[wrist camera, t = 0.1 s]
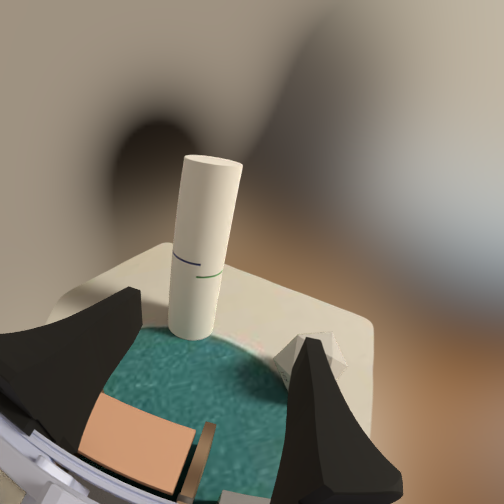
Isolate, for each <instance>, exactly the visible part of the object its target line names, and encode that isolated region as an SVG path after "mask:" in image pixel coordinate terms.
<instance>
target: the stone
mask: <svg viewBox="0 0 504 504" xmlns="http://www.w3.org/2000/svg"><path fill="white" fill-rule="evenodd" d="M270 500H271V499H267V498H261V497H255V496H249V495H244V494H239V493H234V492H230V491H225V490H223V491H222V493H221V495H220V497H219V499H218V501H217V504H270Z"/></svg>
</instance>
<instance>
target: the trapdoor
mask: <svg viewBox="0 0 504 504" xmlns="http://www.w3.org/2000/svg"><path fill="white" fill-rule="evenodd" d="M195 432H196V430H194V429H191V428H188V427H185V426H182V425H179V424H176V423H173V422H170V421H167V420H165V419H162V418H159V417H157V416H154V415H151V414H149V413H146V412H144V411H141V410H139V409H137V408H134V407H132V406H130V405H127V404H125V403H123V402H121V401H119V400H116V399H114V398H112V397H110V396H108V395H106V394H104V393H102V392H101V393H100V395H99V397H98V399H97V401H96V403H95V406H94V408H93V410H92V412H91V415H90V417H89V420H88V422H87V425H86V427H85V430H84V433H83V436H82V439H81V442H80V445H79V448H78V453H79V454H81V455H83V456H85V457H86V458H88V459H90V460H92V461H94V462H95V463H97V464H99V465H101V466H103V467H105V468H107V469H109V470H111V471H113V472H115V473H117V474H119V475H122V476H124V477H126V478H128V479H130V480H133V481H135V482H137V483H140V484H142V485H145V486H147V487H150V488H152V489H155V490H158V491H160V492H163V493H166V494H169V495H172V496H173V493H174V490H175V488H176V485H177V482H178V480H179V477H180V474H181V472H182V469H183V466H184V464H185V461H186V458H187V456H188V453H189V450H190V448H191V445H192V442H193V439H194V437H195ZM68 474H69V475H71V476H72V477H73V478H74V479H75V480H76V481H78V482H79V483H80V484H82V485H83V486H84V487H86V488H87V489H89V491H90V492H89V494H88V496H87V497H88V498H90V499H92V500H94V501H96V502H98V503H99V504H131V503H129V502H127V501H125V500H123V499H120V498H118V497H116V496H114V495H112V494H110V493H108V492H106V491H104V490H102V489H100V488H98V487H96V486H94V485H93V484H91V483H89V482H87V481H85V480H84V479H82V478H80V477H78V476H77V475H75V474H73V473H72V472H70V471H69V472H68Z"/></svg>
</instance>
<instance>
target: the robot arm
mask: <svg viewBox="0 0 504 504" xmlns="http://www.w3.org/2000/svg"><path fill="white" fill-rule="evenodd" d="M142 325H143V324H142V310H141V291H140V290H138V289H135V288H132V287H127V288H125V289H123V290H121V291H119V292H117V293H115V294H113V295H111V296H110V297H108V298H106V299H104V300H102V301H100V302H98V303H96V304H95V305H93V306H91V307H89V308H87V309H84V310H82V311H80V312H78V313H76V314H74V315H72V316H69V317H67V318H65V319H62V320H59V321H57V322H54V323H51V324H48V325H44V326H41V327H37V328H34V329H30V330H25V331H20V332H14V333H6V334H0V469H1V470H2V471H3V472H4V473H5V474H6V475H7V476H9V477H10V478H11V479H12V480H13V481H14V482H15V483H16V484H17V485H18V486H19V487H21V488H22V489H23V490H24V491H25V492H26V495H25V496H24V498H23V500H22V502H21V504H99V503H98V502H96V501H94V500H92V499H90V498H88V497H87V496H88V494H89V492H90V491H89V489H87V488H86V487H84V486H83V485H82V484H80V483H79V482H78V481H76V480H75V479H74V478H73V477H72V476H71V475H69V474H68V473H66V472H65V471H63V470H62V469H60V468H59V467H58V466H56V463H58V464H59V465H61V466H62V467H64V468H65V469H67V470H69V471H70V472H72V473H73V474H75V475H77V476H78V477H80V478H82V479H84V480H85V481H87V482H89V483H91V484H93V485H94V486H96V487H98V488H100V489H102V490H104V491H106V492H108V493H110V494H112V495H114V496H116V497H118V498H120V499H123V500H125V501H127V502H129V503H131V504H178V503H175V502H172V501H169V500H166V499H164V498H161V497H158V496H155V495H153V494H150V493H148V492H145V491H143V490H140V489H138V488H136V487H133V486H131V485H129V484H126V483H124V482H122V481H120V480H118V479H116V478H114V477H112V476H110V475H108V474H106V473H104V472H102V471H100V470H98V469H96V468H94V467H92V466H90V465H89V464H87V463H85V462H83V461H82V460H80V459H78V458H77V457H75V456H73V455H72V454H75V453H77V452H78V448H79V445H80V442H81V439H82V436H83V433H84V430H85V427H86V425H87V422H88V420H89V417H90V415H91V412H92V410H93V408H94V406H95V403H96V401H97V399H98V397H99V395H100V393H101V391H102V389H103V387H104V385H105V384H106V382H107V380H108V379H109V377H110V376H111V374H112V373H113V371H114V370H115V368H116V367H117V365H118V364H119V363H120V361H121V360H122V358H123V357H124V355H125V354H126V353H127V351H128V350H129V348H130V347H131V345H132V344H133V342H134V340H135V339H136V337H137V335H138V333H139V331H140V329H141V327H142ZM54 461H55V462H56V463H55V462H54ZM402 496H403V482H402V476H401V473H400V471H399V470H397V468H395V467H394V466H393V465H392V464H391V463H390V462H389V461H388V460H387V459H386V458H385V457H384V456H383V455H382V454H381V452H380V451H379V450H378V449H377V448H376V447H375V445H374V444H373V443H372V442H371V440H370V439H369V438H368V436H367V435H366V434H365V432H364V431H363V430H362V428H361V427H360V425H359V424H358V422H357V421H356V419H355V417H354V416H353V414H352V412H351V411H350V409H349V407H348V405H347V403H346V401H345V399H344V397H343V395H342V393H341V391H340V389H339V387H338V384H337V382H336V380H335V377H334V375H333V373H332V370H331V368H330V365H329V362H328V359H327V357H326V354H325V351H324V348H323V345H322V342H321V340H319V339H314V338H310V337H306V338H305V340H304V343H303V345H302V347H301V349H300V352H299V354H298V356H297V358H296V361H295V363H294V365H293V367H292V372H291V377H290V383H289V388H288V403H287V419H286V433H285V441H284V446H283V451H282V456H281V461H280V466H279V470H278V474H277V478H276V482H275V486H274V490H273V494H272V497H271V500H270V504H391V503H393V502H395V501H397V500H399V499H400V498H401V497H402Z"/></svg>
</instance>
